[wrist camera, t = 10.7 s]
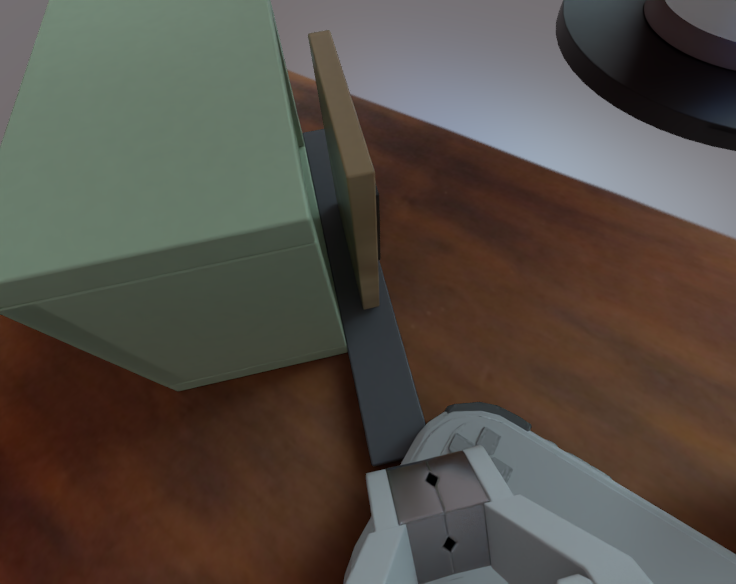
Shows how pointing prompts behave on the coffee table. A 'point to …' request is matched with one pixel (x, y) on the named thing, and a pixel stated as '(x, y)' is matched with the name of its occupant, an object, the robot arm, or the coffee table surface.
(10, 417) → the coffee table surface
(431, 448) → the handheld gaming console
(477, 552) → the robot arm
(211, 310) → the green rectangular block
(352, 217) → the sliding door
